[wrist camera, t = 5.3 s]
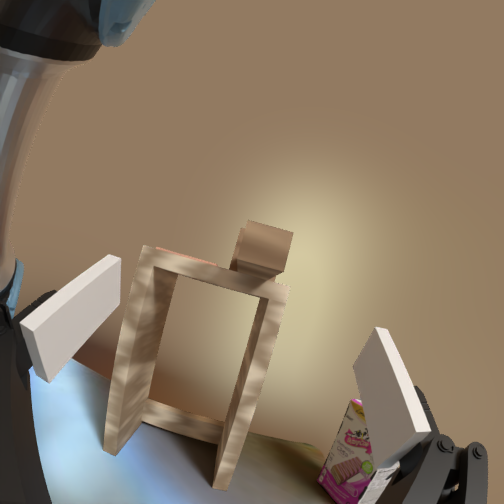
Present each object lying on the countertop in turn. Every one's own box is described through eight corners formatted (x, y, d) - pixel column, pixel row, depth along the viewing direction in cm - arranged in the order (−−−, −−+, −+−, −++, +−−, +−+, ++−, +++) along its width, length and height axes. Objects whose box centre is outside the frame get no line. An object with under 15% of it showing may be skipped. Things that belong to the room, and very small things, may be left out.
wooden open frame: (103, 450, 28) (143, 244, 32) (133, 416, 41) (170, 259, 46) (226, 491, 28) (290, 286, 32) (229, 446, 41) (275, 288, 46)
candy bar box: (313, 480, 34) (348, 397, 36) (337, 477, 35) (372, 398, 37) (347, 518, 23) (397, 425, 25) (373, 511, 24) (420, 422, 26)
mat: (155, 249, 34) (156, 246, 34) (173, 259, 44) (173, 257, 44) (215, 267, 34) (216, 264, 34) (221, 273, 44) (221, 271, 44)
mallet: (300, 276, 20) (317, 200, 21) (220, 254, 20) (242, 179, 21) (267, 286, 44) (277, 249, 45) (230, 276, 44) (240, 239, 45)
